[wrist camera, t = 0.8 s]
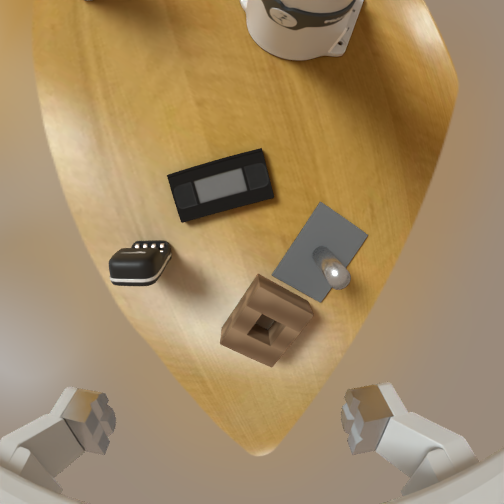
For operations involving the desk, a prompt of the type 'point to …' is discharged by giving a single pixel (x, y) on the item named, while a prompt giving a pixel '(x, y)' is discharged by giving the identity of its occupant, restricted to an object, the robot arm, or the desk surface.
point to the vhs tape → (221, 185)
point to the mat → (312, 236)
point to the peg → (331, 268)
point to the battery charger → (139, 263)
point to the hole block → (273, 306)
